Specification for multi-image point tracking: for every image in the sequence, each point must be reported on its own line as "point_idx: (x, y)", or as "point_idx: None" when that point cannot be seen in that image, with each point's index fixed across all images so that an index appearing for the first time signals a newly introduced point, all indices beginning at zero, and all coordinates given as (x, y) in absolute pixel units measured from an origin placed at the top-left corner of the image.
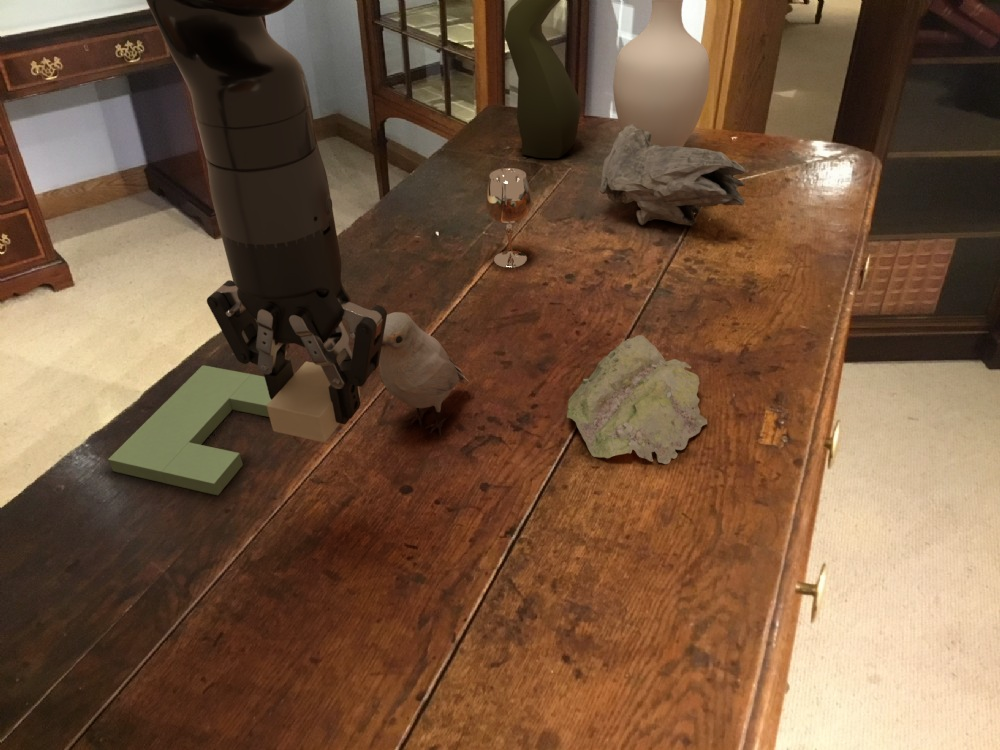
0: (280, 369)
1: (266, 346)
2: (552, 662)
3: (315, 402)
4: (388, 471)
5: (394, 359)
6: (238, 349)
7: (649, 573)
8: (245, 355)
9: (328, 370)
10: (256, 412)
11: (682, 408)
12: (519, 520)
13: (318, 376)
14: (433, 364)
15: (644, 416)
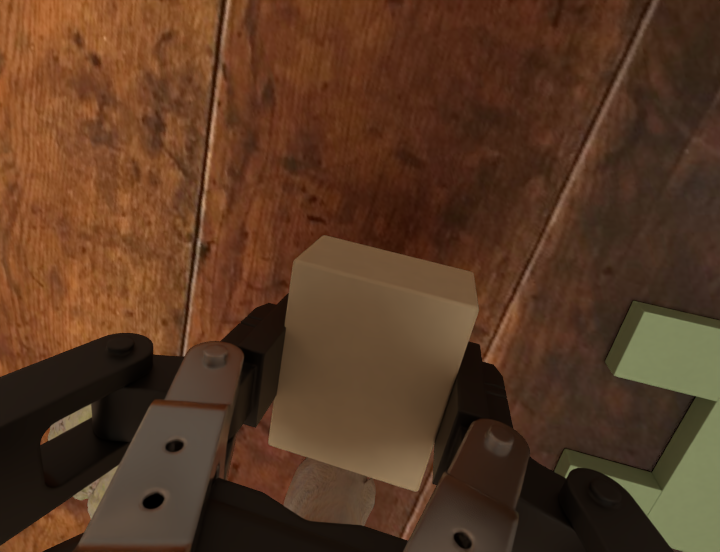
0: (453, 444)
1: (452, 518)
2: (107, 51)
3: (328, 323)
4: None
5: (319, 512)
6: (628, 533)
7: (49, 198)
8: (587, 500)
9: (210, 389)
10: (607, 463)
11: (62, 428)
12: (199, 269)
13: (358, 429)
14: (287, 504)
15: (83, 415)
